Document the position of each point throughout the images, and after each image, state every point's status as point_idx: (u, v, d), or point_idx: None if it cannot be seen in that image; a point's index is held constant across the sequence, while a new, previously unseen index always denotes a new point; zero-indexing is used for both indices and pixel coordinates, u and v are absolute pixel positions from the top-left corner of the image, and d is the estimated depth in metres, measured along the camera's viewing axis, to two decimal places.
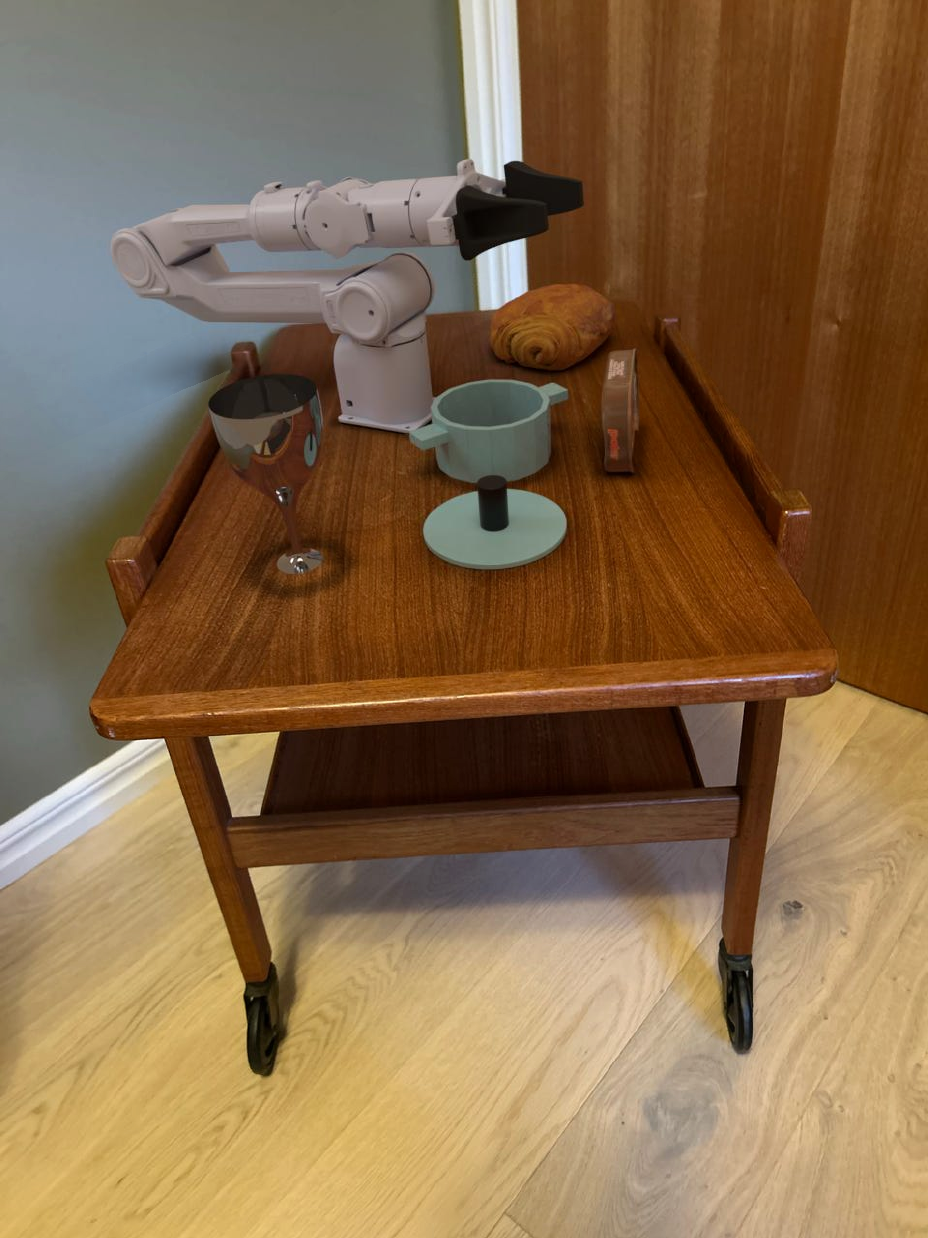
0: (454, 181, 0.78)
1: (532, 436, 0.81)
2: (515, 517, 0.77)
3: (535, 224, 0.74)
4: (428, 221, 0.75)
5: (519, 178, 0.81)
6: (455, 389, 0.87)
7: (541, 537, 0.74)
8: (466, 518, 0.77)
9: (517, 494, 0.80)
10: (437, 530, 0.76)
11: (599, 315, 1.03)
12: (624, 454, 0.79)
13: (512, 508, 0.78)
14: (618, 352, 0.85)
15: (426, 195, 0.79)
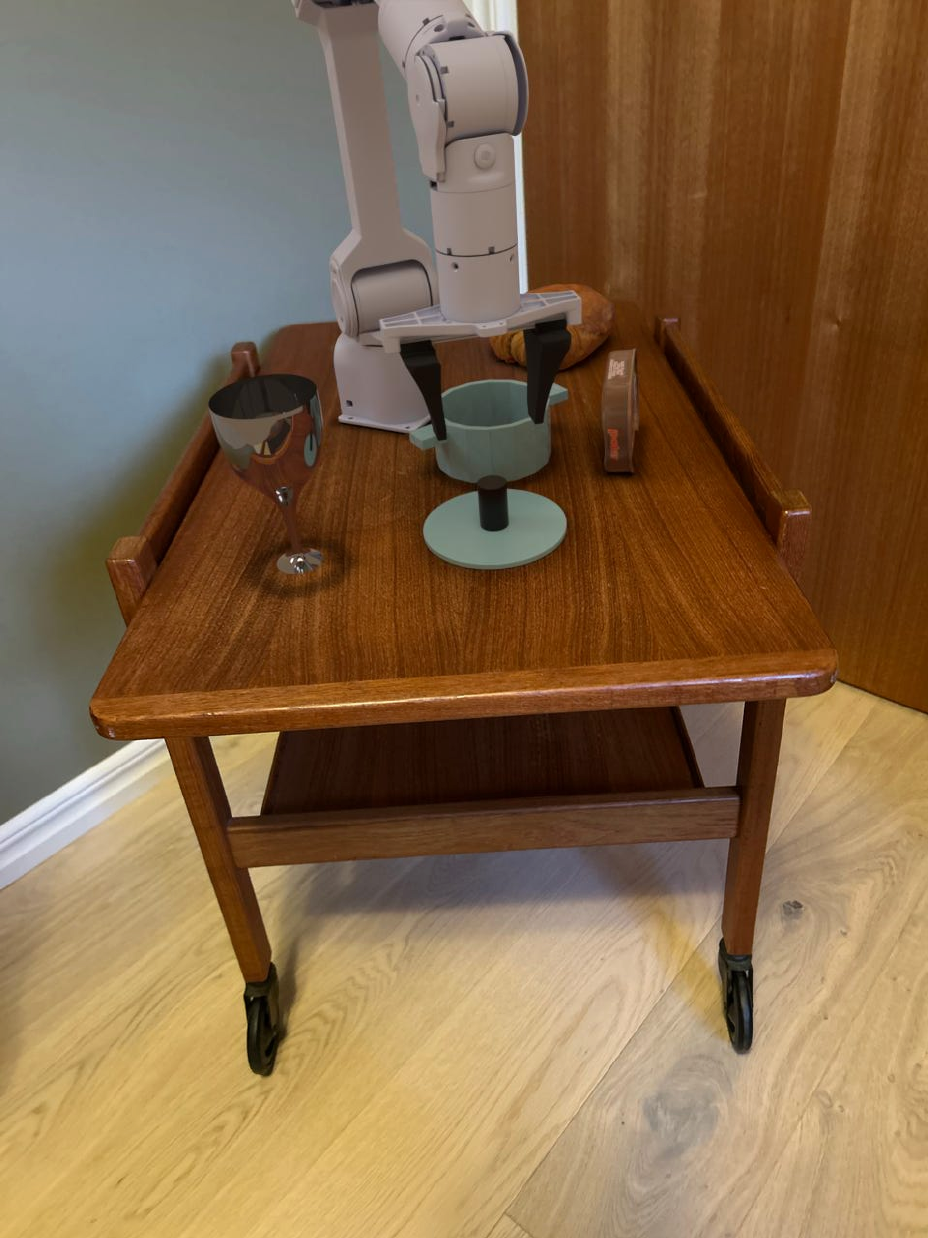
0: (473, 317, 0.63)
1: (532, 436, 0.81)
2: (515, 517, 0.77)
3: (432, 423, 0.70)
4: (383, 330, 0.64)
5: (537, 354, 0.66)
6: (455, 389, 0.87)
7: (541, 537, 0.74)
8: (466, 518, 0.77)
9: (517, 494, 0.80)
10: (437, 530, 0.76)
11: (599, 315, 1.03)
12: (624, 454, 0.79)
13: (512, 508, 0.78)
14: (618, 352, 0.85)
15: (453, 281, 0.62)
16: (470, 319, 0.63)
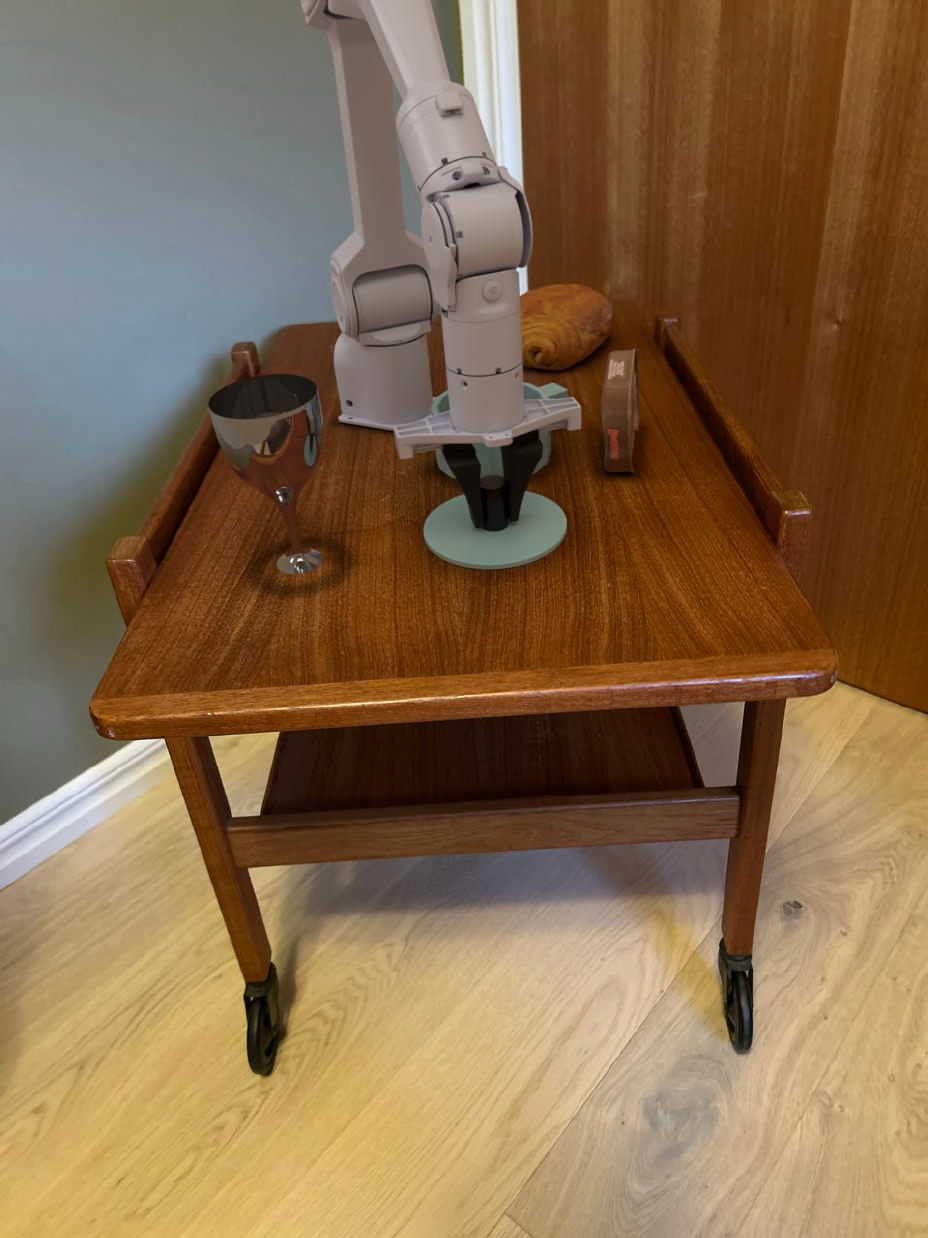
0: (481, 428, 0.68)
1: None
2: None
3: (470, 511, 0.75)
4: (397, 439, 0.69)
5: (512, 462, 0.71)
6: None
7: (541, 537, 0.74)
8: (466, 518, 0.77)
9: None
10: (438, 530, 0.76)
11: (599, 315, 1.03)
12: (624, 454, 0.79)
13: None
14: (618, 352, 0.85)
15: (463, 396, 0.67)
16: (478, 430, 0.68)
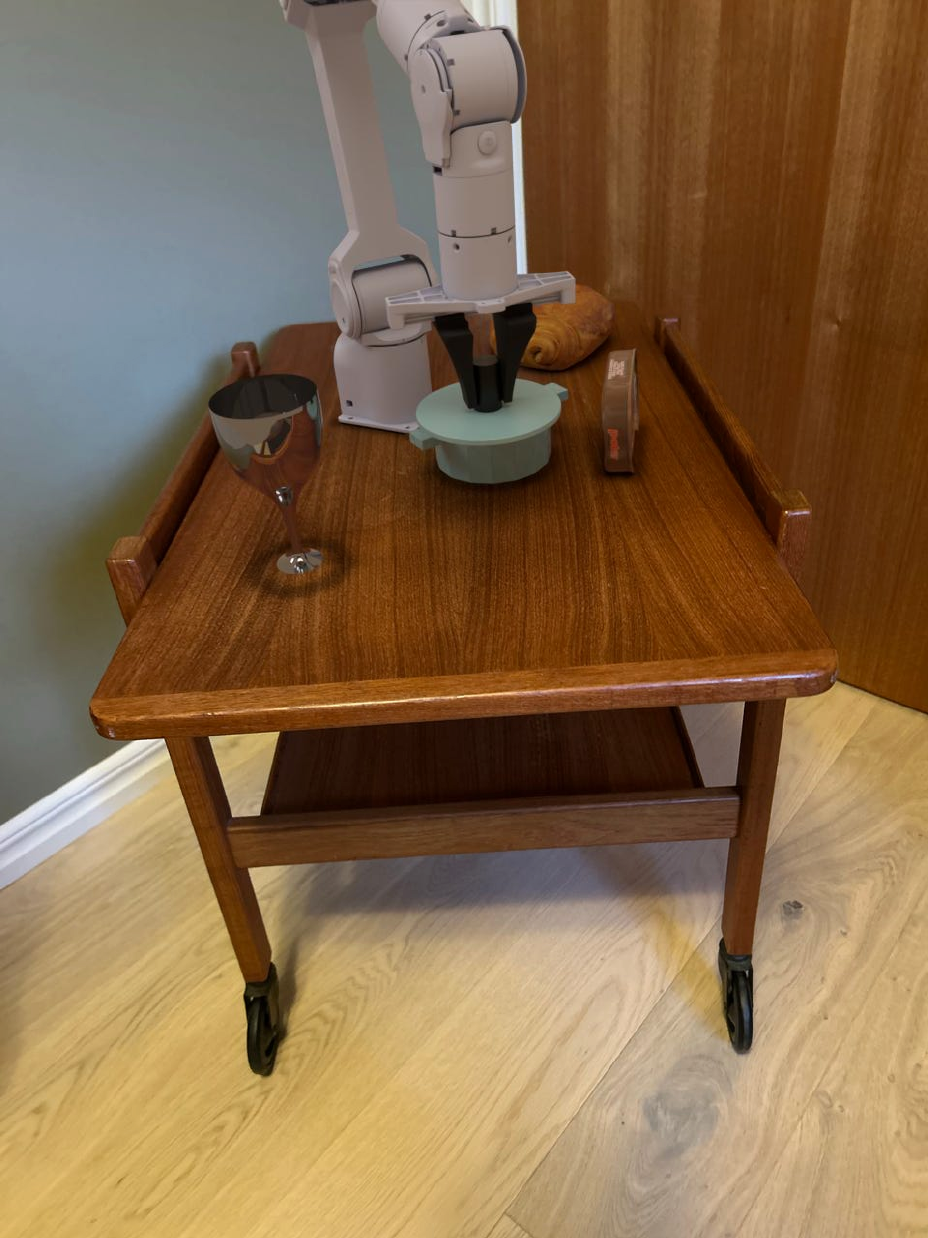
0: (473, 295, 0.67)
1: (532, 436, 0.81)
2: None
3: (463, 393, 0.74)
4: (388, 307, 0.68)
5: (505, 336, 0.70)
6: None
7: (535, 416, 0.73)
8: (459, 402, 0.76)
9: None
10: (430, 413, 0.75)
11: (599, 315, 1.03)
12: (624, 454, 0.79)
13: None
14: (618, 352, 0.85)
15: (455, 261, 0.66)
16: (470, 297, 0.67)
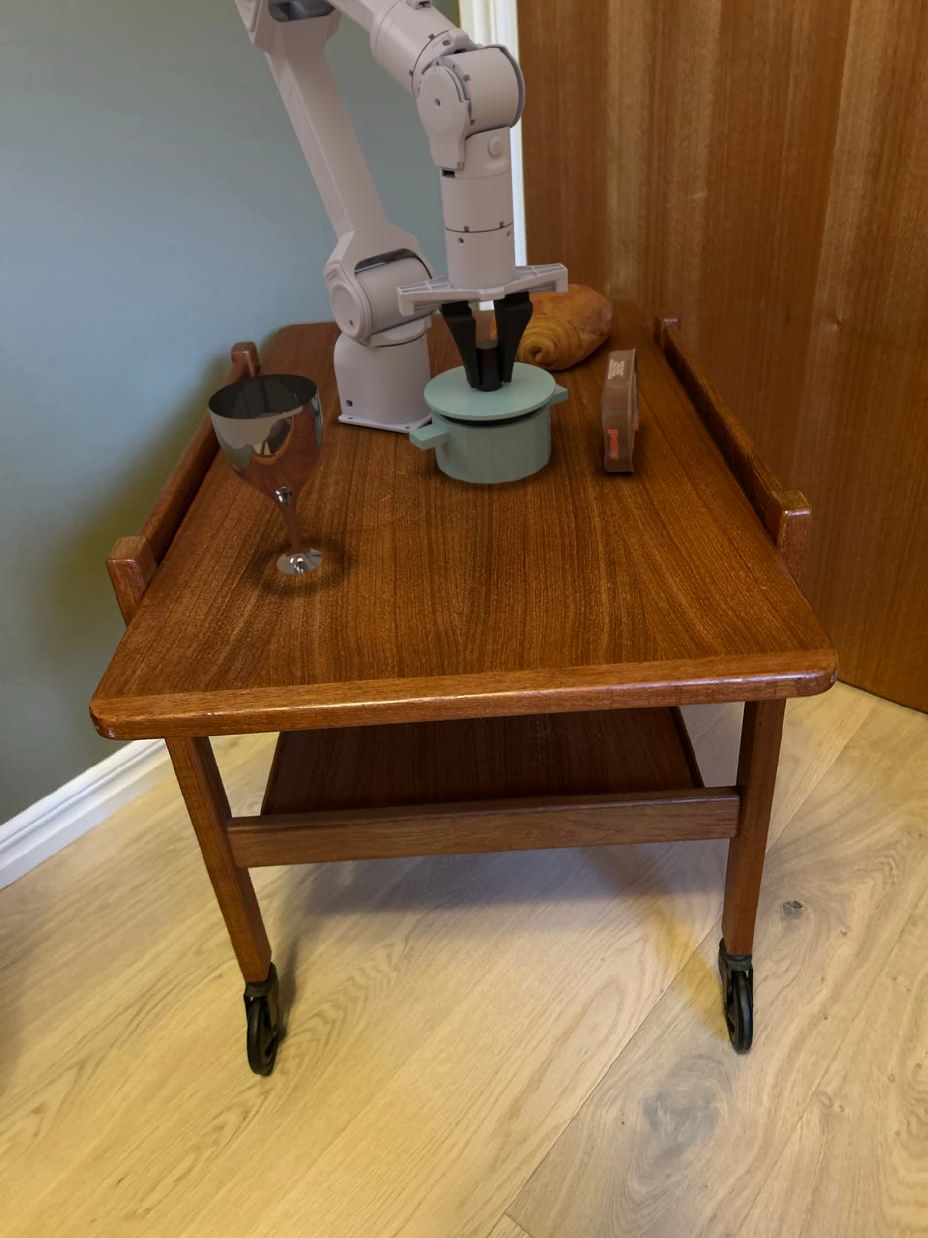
0: (476, 284, 0.75)
1: (532, 436, 0.81)
2: None
3: (466, 374, 0.82)
4: (400, 295, 0.75)
5: (504, 321, 0.78)
6: None
7: (532, 394, 0.81)
8: (463, 383, 0.84)
9: None
10: (437, 392, 0.83)
11: (599, 315, 1.03)
12: (624, 454, 0.79)
13: None
14: (618, 352, 0.85)
15: (460, 253, 0.74)
16: (473, 286, 0.75)
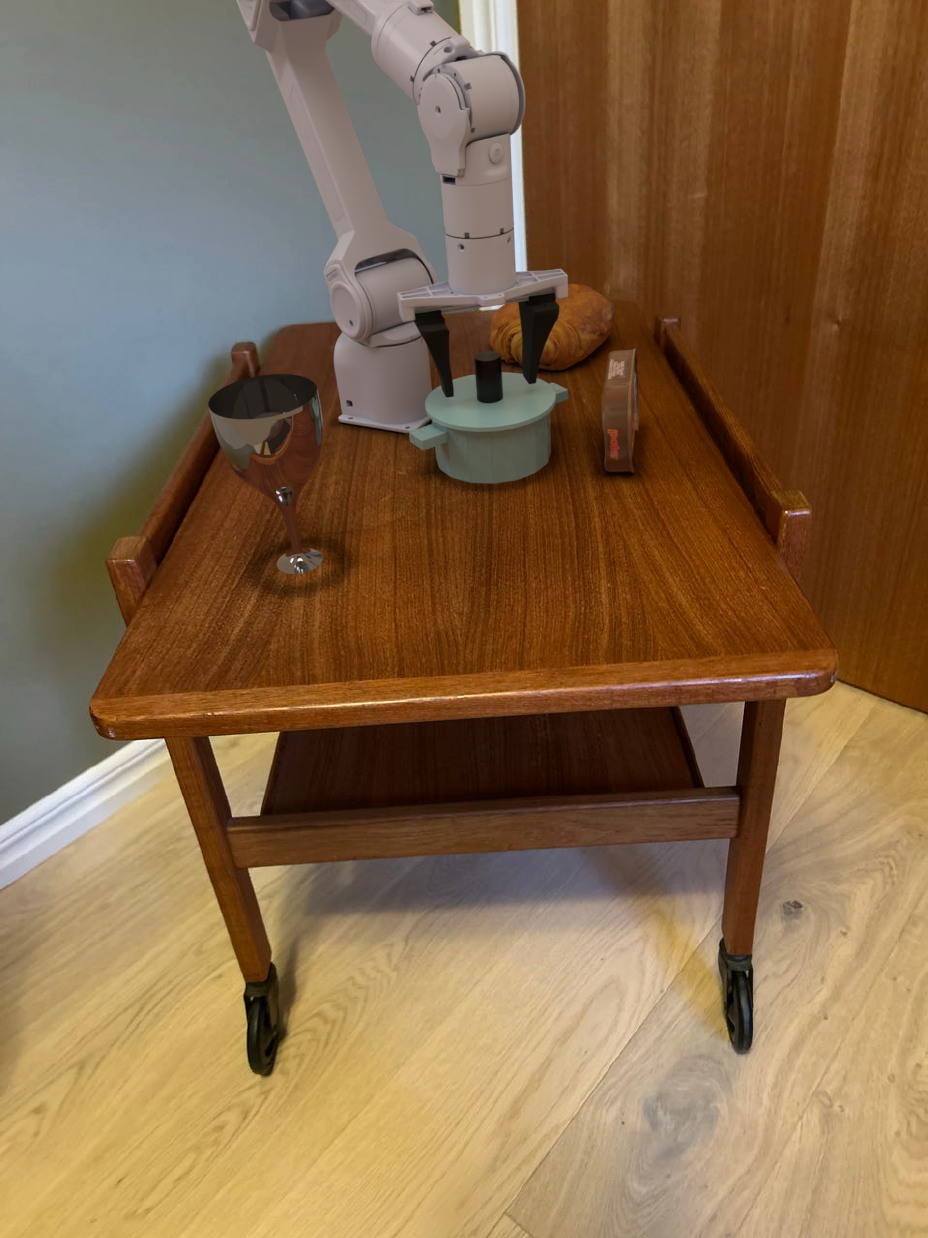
0: (477, 290, 0.75)
1: (532, 436, 0.81)
2: (509, 392, 0.84)
3: (441, 383, 0.82)
4: (400, 301, 0.76)
5: (531, 323, 0.79)
6: None
7: (532, 406, 0.81)
8: (464, 394, 0.85)
9: (511, 376, 0.87)
10: (438, 403, 0.83)
11: (599, 315, 1.03)
12: (624, 454, 0.79)
13: (506, 386, 0.85)
14: (618, 352, 0.85)
15: (460, 259, 0.74)
16: (474, 292, 0.75)
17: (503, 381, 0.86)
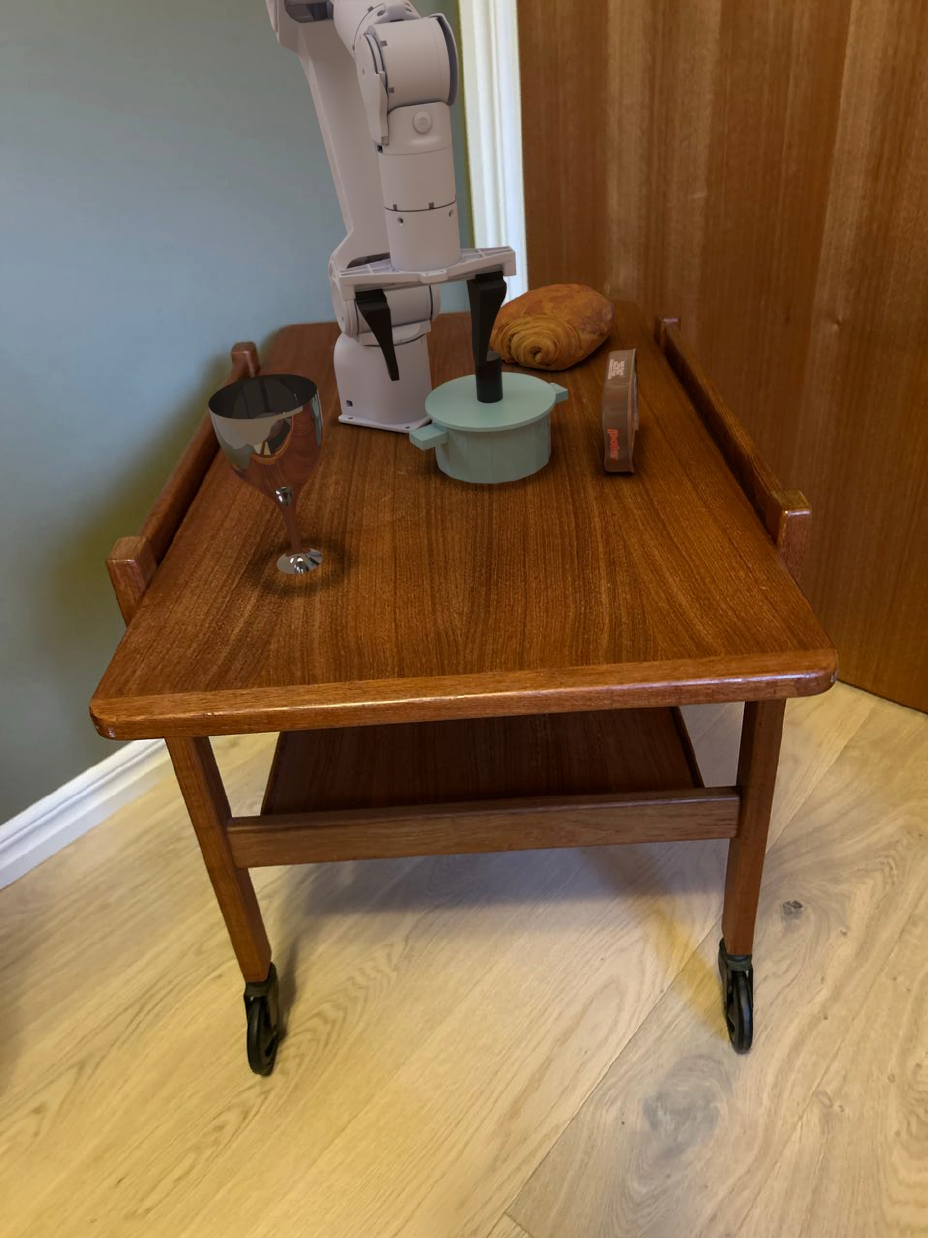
0: (418, 266, 0.71)
1: (532, 436, 0.81)
2: (509, 392, 0.84)
3: (387, 366, 0.79)
4: (339, 278, 0.72)
5: (477, 302, 0.75)
6: None
7: (532, 406, 0.81)
8: (464, 394, 0.85)
9: (511, 376, 0.87)
10: (438, 403, 0.83)
11: (599, 315, 1.03)
12: (624, 454, 0.79)
13: (506, 386, 0.85)
14: (618, 352, 0.85)
15: (400, 234, 0.70)
16: (415, 268, 0.72)
17: (503, 381, 0.86)
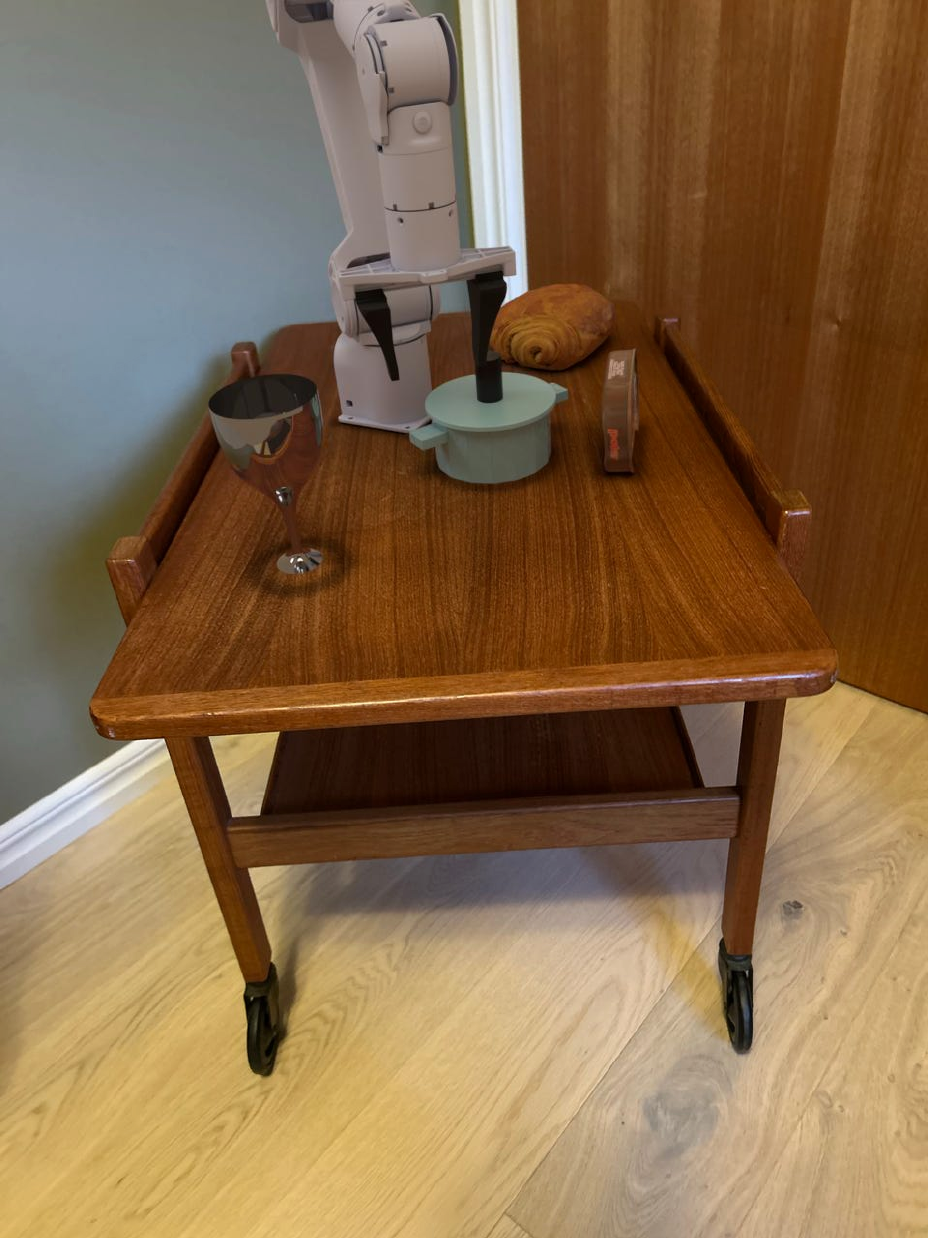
0: (418, 266, 0.71)
1: (532, 436, 0.81)
2: (509, 392, 0.84)
3: (387, 366, 0.79)
4: (339, 278, 0.72)
5: (477, 302, 0.75)
6: None
7: (532, 406, 0.81)
8: (464, 394, 0.85)
9: (511, 376, 0.87)
10: (438, 403, 0.83)
11: (599, 315, 1.03)
12: (624, 454, 0.79)
13: (506, 386, 0.85)
14: (618, 352, 0.85)
15: (400, 234, 0.70)
16: (415, 268, 0.72)
17: (503, 381, 0.86)
